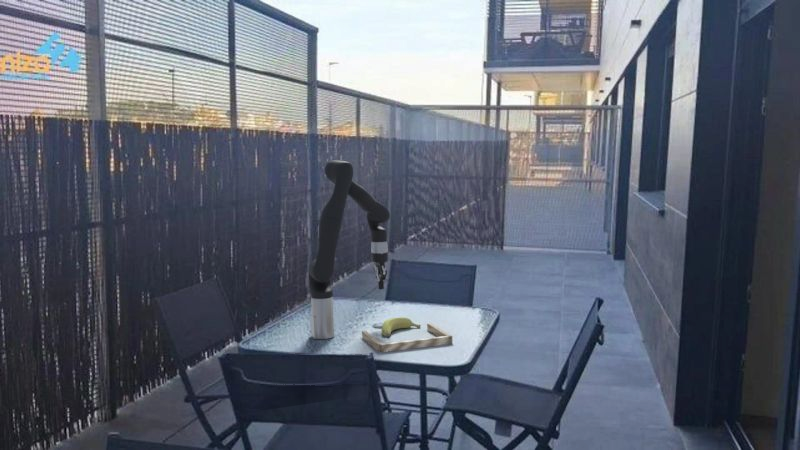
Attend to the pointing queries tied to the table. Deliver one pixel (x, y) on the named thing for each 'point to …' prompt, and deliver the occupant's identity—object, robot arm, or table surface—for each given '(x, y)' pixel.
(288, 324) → the table surface
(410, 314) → the table surface
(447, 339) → the wooden rimmed tray
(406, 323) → the banana
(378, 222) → the robot arm
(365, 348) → the table surface
